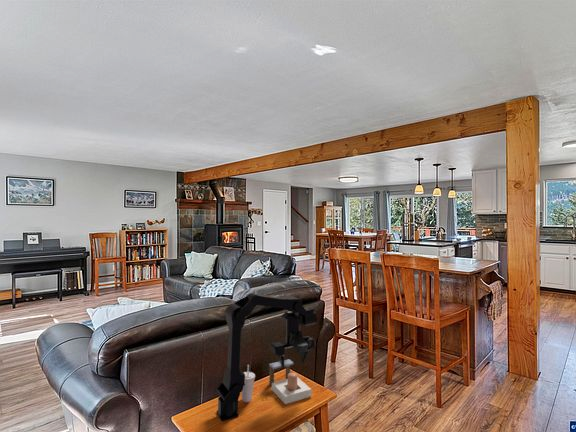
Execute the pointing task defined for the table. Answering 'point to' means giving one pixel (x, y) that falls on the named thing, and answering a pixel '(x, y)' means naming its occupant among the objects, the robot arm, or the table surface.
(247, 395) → the smoothie
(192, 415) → the table surface
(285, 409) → the table surface
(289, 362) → the grey arch
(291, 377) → the peg
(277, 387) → the socket board
